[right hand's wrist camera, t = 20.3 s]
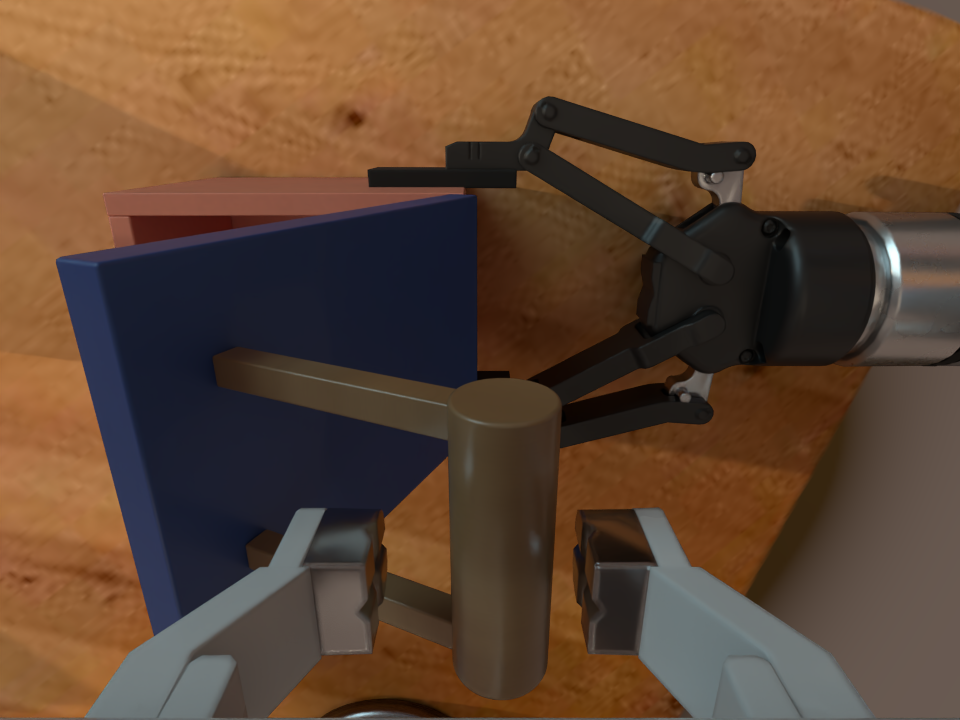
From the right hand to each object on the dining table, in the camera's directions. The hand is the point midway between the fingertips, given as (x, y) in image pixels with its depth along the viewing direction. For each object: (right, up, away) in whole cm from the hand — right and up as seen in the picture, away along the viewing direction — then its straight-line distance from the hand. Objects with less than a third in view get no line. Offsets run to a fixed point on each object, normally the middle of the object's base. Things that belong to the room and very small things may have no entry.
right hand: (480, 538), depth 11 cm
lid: (-4, +3, +7) cm, 9 cm away
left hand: (-5, +7, +18) cm, 20 cm away
